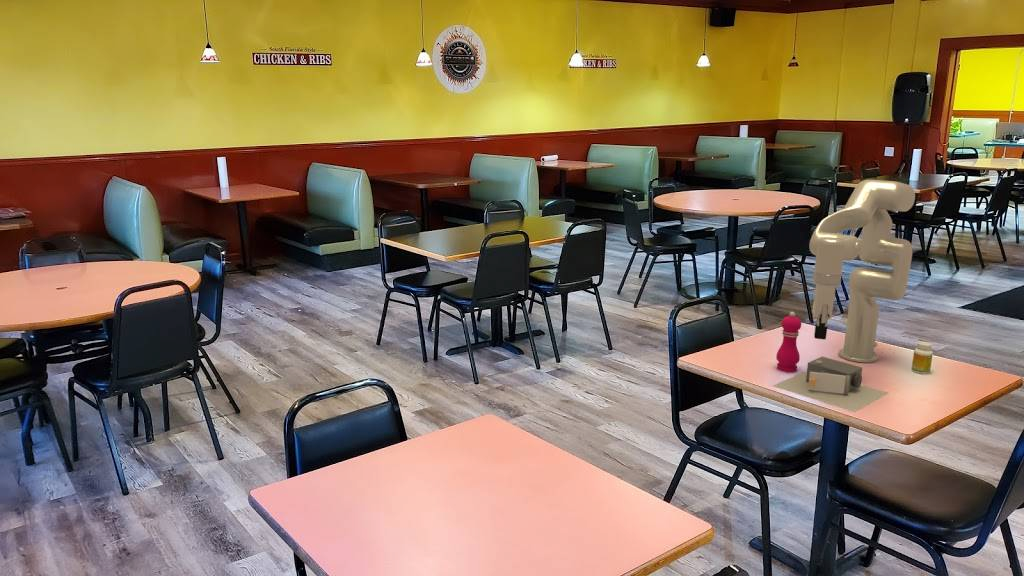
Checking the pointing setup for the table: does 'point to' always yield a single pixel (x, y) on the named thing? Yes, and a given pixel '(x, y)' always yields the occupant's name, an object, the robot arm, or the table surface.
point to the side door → (829, 382)
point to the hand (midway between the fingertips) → (819, 338)
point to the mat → (849, 402)
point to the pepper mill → (789, 344)
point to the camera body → (836, 370)
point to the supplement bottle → (922, 358)
